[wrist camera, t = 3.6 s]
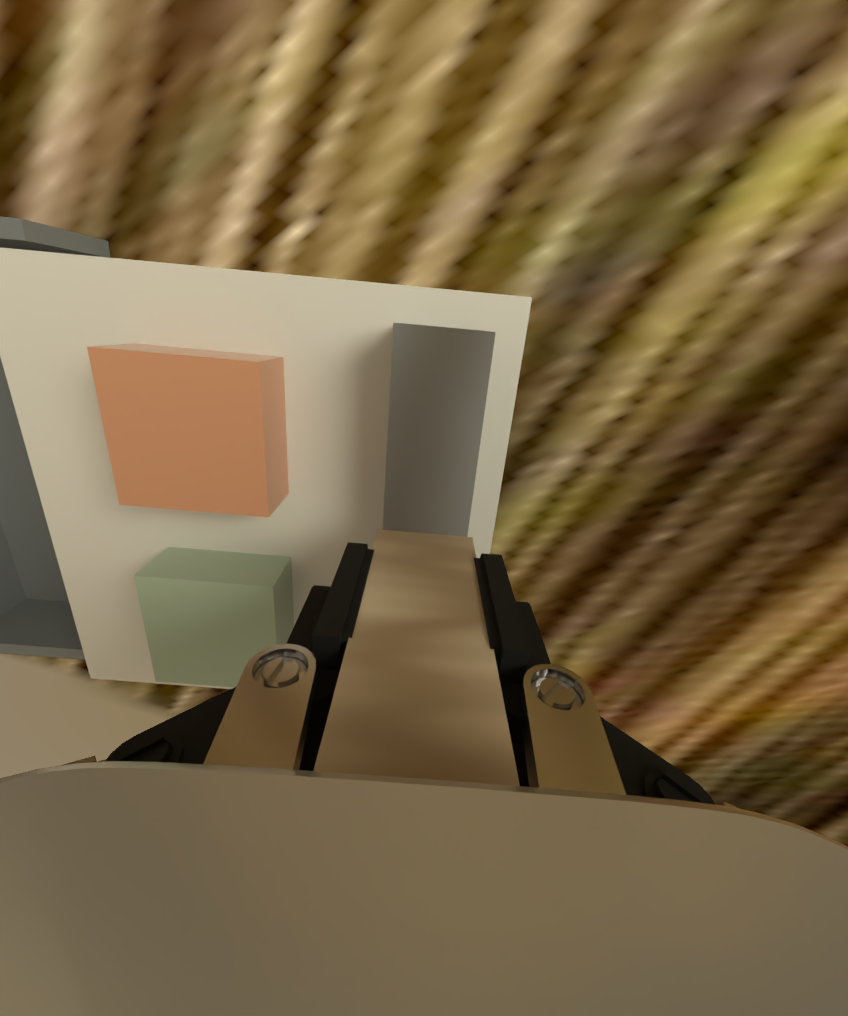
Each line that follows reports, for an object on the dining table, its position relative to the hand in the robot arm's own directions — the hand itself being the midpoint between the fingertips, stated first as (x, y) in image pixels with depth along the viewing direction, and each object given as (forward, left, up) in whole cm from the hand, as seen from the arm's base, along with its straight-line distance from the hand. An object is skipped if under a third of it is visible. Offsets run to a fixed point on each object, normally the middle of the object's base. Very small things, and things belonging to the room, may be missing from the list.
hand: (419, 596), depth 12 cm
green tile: (+7, +3, -4) cm, 9 cm away
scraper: (0, 0, -4) cm, 4 cm away
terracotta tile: (+7, -4, -4) cm, 9 cm away
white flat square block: (+5, 0, -10) cm, 11 cm away
